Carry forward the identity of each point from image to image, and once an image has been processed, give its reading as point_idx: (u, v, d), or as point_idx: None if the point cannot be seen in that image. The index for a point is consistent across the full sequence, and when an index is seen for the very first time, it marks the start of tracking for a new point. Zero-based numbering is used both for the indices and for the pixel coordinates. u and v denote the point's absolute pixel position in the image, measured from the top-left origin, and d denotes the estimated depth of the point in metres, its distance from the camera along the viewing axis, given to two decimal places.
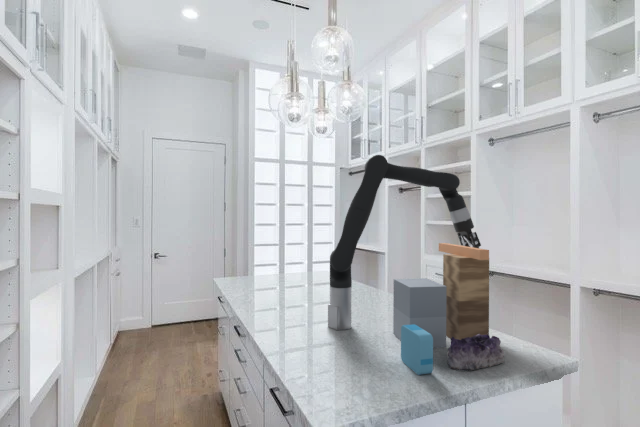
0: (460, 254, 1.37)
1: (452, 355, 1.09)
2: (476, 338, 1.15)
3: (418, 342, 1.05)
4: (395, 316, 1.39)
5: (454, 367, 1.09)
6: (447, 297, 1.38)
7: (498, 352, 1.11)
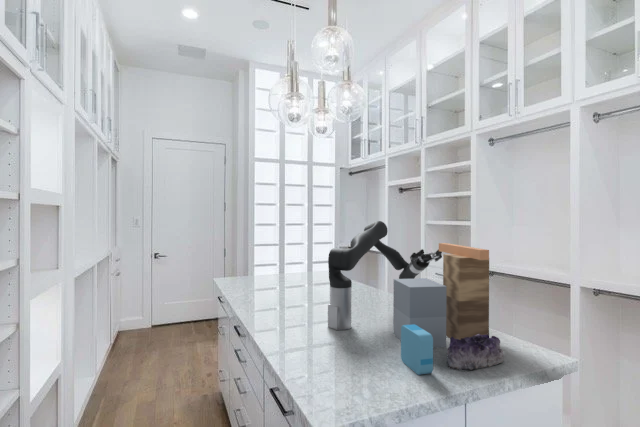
0: (460, 254, 1.37)
1: (451, 355, 1.09)
2: (476, 338, 1.16)
3: (418, 342, 1.05)
4: (395, 316, 1.39)
5: (453, 367, 1.09)
6: (447, 297, 1.38)
7: (497, 352, 1.11)
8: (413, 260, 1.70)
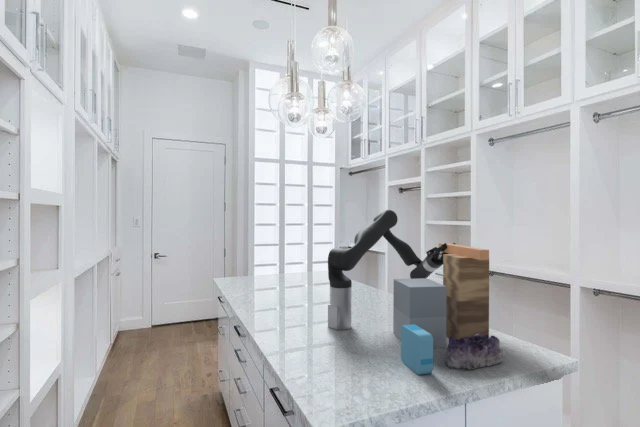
0: (460, 254, 1.37)
1: (450, 354, 1.10)
2: (475, 338, 1.16)
3: (418, 342, 1.05)
4: (395, 316, 1.39)
5: (452, 366, 1.09)
6: (447, 297, 1.38)
7: (496, 352, 1.11)
8: (431, 255, 1.53)
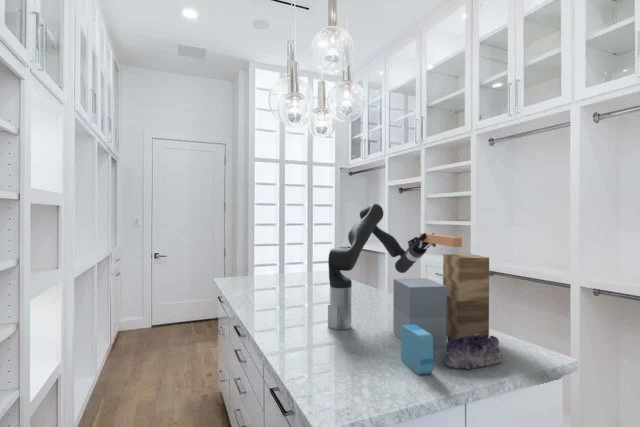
0: (437, 242, 1.46)
1: (448, 354, 1.10)
2: (474, 337, 1.16)
3: (418, 342, 1.05)
4: (395, 316, 1.39)
5: (450, 366, 1.09)
6: (447, 297, 1.38)
7: (495, 352, 1.12)
8: (412, 245, 1.62)
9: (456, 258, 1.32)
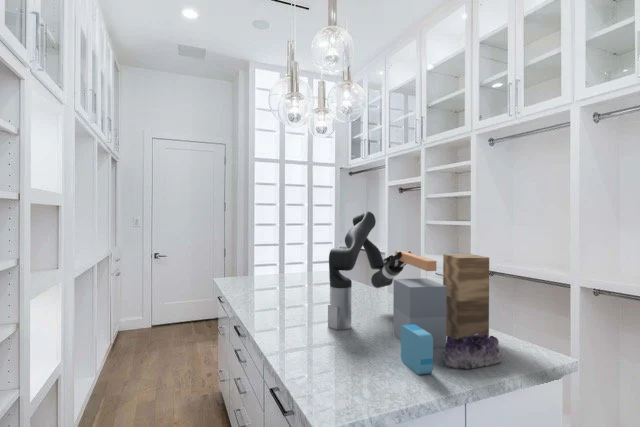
0: (412, 264, 1.36)
1: (447, 354, 1.10)
2: (473, 338, 1.16)
3: (418, 342, 1.05)
4: (395, 316, 1.39)
5: (449, 366, 1.10)
6: (447, 297, 1.38)
7: (495, 352, 1.12)
8: (387, 263, 1.53)
9: (456, 258, 1.32)
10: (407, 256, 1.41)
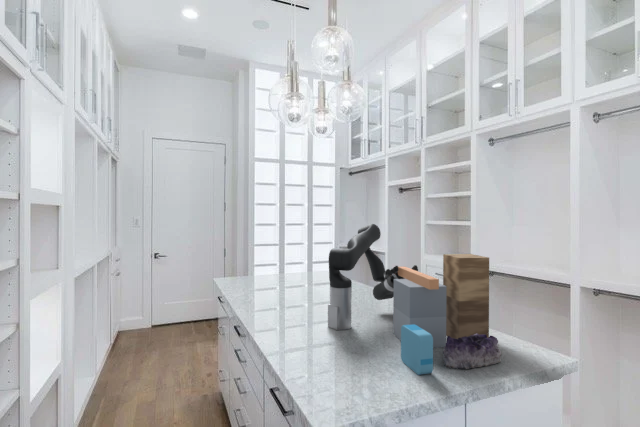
0: (414, 281, 1.34)
1: (447, 354, 1.10)
2: (473, 337, 1.16)
3: (418, 342, 1.05)
4: (395, 316, 1.39)
5: (449, 365, 1.10)
6: (447, 297, 1.38)
7: (494, 352, 1.12)
8: (387, 277, 1.51)
9: (456, 258, 1.32)
10: (409, 273, 1.38)
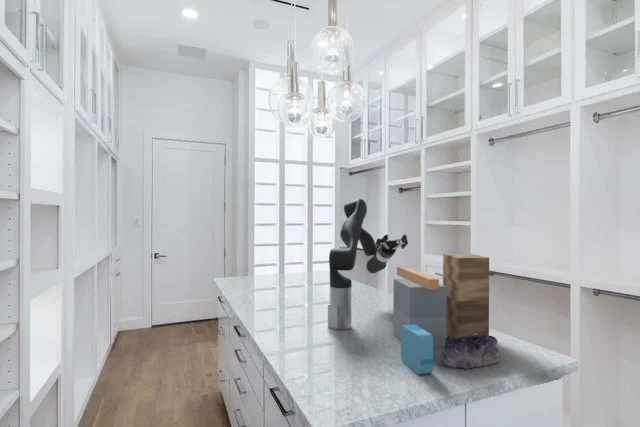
0: (414, 281, 1.34)
1: (446, 353, 1.10)
2: (472, 337, 1.16)
3: (418, 342, 1.05)
4: (395, 316, 1.39)
5: (448, 365, 1.10)
6: (447, 297, 1.38)
7: (494, 352, 1.12)
8: (378, 247, 1.63)
9: (456, 258, 1.32)
10: (409, 273, 1.38)
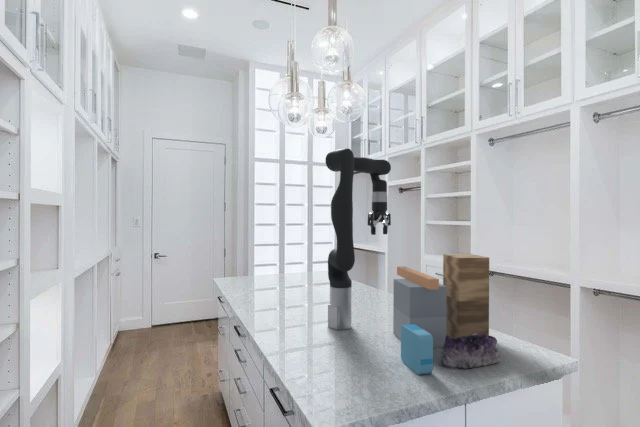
0: (414, 281, 1.34)
1: (445, 353, 1.11)
2: (472, 337, 1.16)
3: (418, 342, 1.05)
4: (395, 316, 1.39)
5: (447, 365, 1.10)
6: (447, 297, 1.38)
7: (493, 352, 1.12)
8: None
9: (456, 258, 1.32)
10: (409, 273, 1.38)
